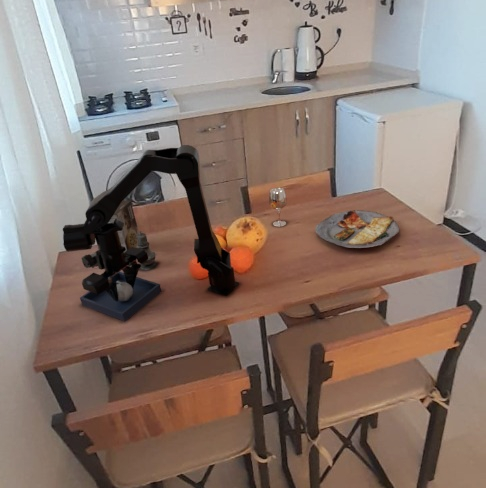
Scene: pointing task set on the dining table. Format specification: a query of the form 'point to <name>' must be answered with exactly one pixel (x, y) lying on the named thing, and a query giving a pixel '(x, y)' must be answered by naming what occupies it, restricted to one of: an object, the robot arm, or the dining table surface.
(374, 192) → the dining table surface
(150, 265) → the grey tall tiered piece
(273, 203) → the wineglass
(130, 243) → the coffee box
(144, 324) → the dining table surface
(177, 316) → the dining table surface
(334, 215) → the food plate
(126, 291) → the garlic
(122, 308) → the tray
